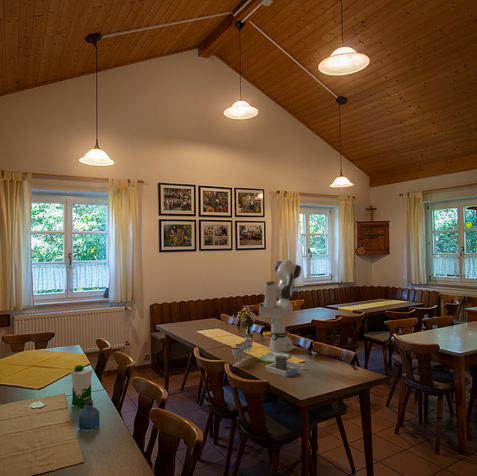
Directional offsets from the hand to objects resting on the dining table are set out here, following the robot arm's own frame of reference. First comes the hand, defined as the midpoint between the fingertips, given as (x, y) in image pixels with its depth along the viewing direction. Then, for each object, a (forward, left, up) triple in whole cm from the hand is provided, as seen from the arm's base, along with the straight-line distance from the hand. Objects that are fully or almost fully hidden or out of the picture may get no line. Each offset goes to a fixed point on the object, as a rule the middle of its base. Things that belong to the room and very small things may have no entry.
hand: (271, 323), depth 268 cm
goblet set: (+11, -18, -28) cm, 35 cm away
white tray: (+6, +17, -28) cm, 33 cm away
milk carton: (+124, -26, -28) cm, 130 cm away
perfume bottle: (+132, +2, -28) cm, 135 cm away
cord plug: (+11, +17, -28) cm, 34 cm away
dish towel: (-9, -5, -28) cm, 30 cm away
